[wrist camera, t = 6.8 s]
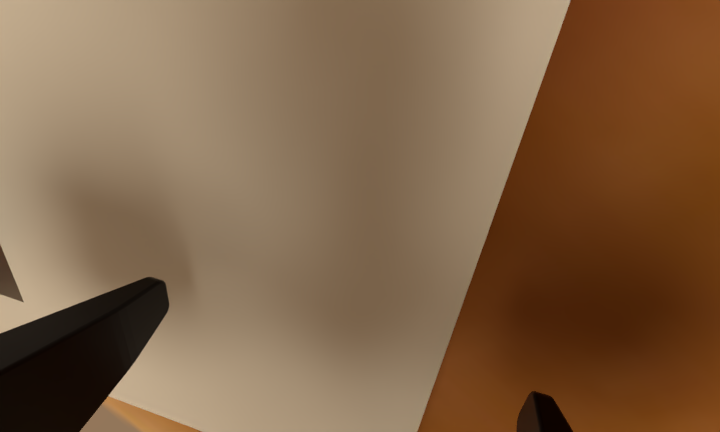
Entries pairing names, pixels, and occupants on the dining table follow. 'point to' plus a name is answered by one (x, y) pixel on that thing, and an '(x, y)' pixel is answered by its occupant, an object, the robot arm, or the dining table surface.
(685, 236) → the dining table surface
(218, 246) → the deck
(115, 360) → the robot arm
